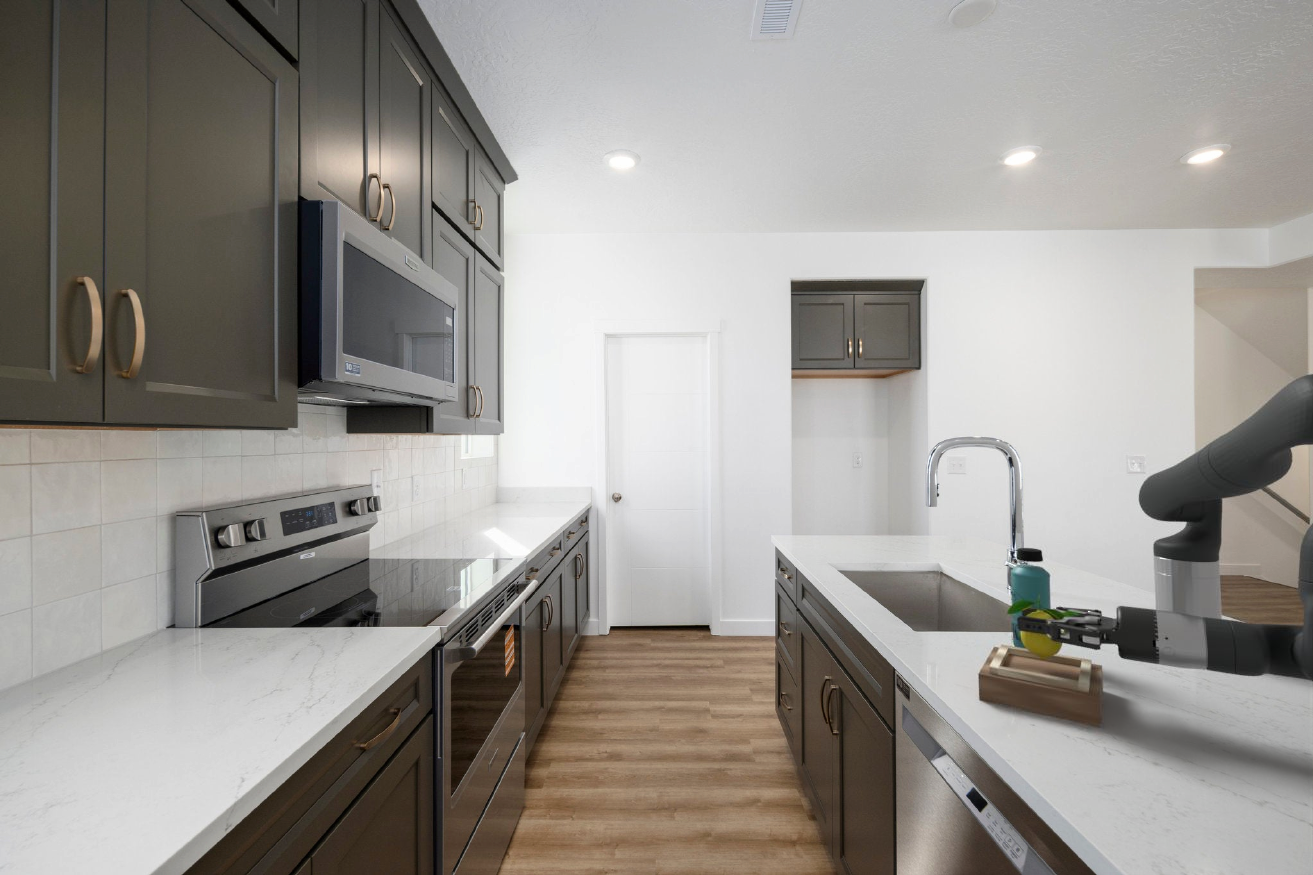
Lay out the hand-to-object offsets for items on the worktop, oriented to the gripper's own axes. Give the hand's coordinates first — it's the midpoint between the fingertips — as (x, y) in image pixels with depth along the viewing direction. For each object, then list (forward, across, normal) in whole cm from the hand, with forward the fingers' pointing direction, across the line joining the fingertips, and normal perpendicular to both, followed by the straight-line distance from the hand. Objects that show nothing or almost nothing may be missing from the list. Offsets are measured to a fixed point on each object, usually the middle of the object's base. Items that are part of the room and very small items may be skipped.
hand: (1020, 618), depth 92 cm
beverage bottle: (+1, -19, +12) cm, 22 cm away
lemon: (-3, 0, +6) cm, 7 cm away
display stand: (-2, 0, +12) cm, 12 cm away
